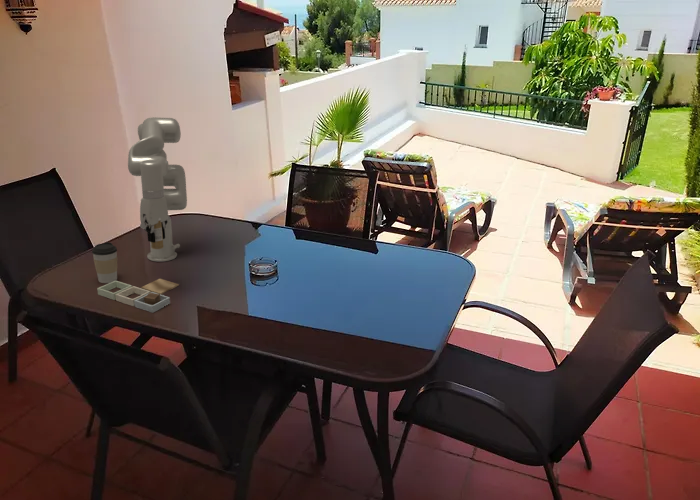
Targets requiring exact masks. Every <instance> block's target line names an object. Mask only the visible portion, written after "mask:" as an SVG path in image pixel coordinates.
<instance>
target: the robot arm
mask: <svg viewBox="0 0 700 500" xmlns="http://www.w3.org/2000/svg"><path fill="white" fill-rule="evenodd" d="M180 126H181V125H180V122H178V120H177V119H176V118H173V117H153V116H152V117H148V118H145V120H143V122H142V123H141V124H139V125H138V126H137V135H138V141H137V142H136V143H134V144H133V145H132V146H131V147H130V149H129V151H128V154H127V155H128V156H127V157H128V158H127V169H128V172H129V173H130V175H132V176H135V177H140V180H141V192H142V193H141V195H142V198H141V199H140V204H139V205H140V206H139V219H140V220H139V221H140V225H139V227H140V228H141V229H143V230H144V231H145V232H146V233H147V235H146V236H147V242H149V244H150V245H149V246H150V248H149V249H150V252H148V253H147V255H146V256H147V259H148V260H150V261H152V262H160V263H161V262H169V261H172V260H174V259H175V258H177V257H178V253H177V251H176V249H179V248H181V244H180V243H176V244H173V230H172V219H171V216H170V215H169V211H182V210H185V209H186V208H187V205H188V197H187V196H188V195H187V182H186V181H187V180H186V178H187V177H186V171H185V169H184V167H183V166H182V165H180V164H170V163H169V161H168V157H167V156H168V155H167V153H166V151H165V150H164V147H165V144H176V143H179V142H180V140H181V136H182V135H181V127H180ZM165 187H174V188H165ZM159 218H161V221H160V220H159V221H160V222H161V224H162V233H163V246H164V247H163V248H161V249H153V248H151V246H152V245H151V242H153V243H154V242H155V233H154V232H153V231H154V225H155V224H157V223H158V219H159Z"/></svg>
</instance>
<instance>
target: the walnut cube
mask: <svg viewBox="0 0 700 500" xmlns="http://www.w3.org/2000/svg"><path fill="white" fill-rule="evenodd" d="M158 302H160V294H154V293H149V294H148V295H147V296H145V297H144V303H146V304H149V305H154V304H156V303H158Z"/></svg>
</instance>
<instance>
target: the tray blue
mask: <svg viewBox="0 0 700 500" xmlns="http://www.w3.org/2000/svg"><path fill="white" fill-rule="evenodd" d="M151 293H154V292H151ZM154 294H157V293H154ZM147 295H148V294H147ZM147 295H145V296H147ZM145 296H143V297H141V298H139V299H137V300H135V306H134V307H135V308H137V309H140V310H144V311H147V312H149V313H153V314H154V313H155V312H157V311H159V310H162V309H163V308H165V307H167V306H168V304H169V305H170V304H171V298H170V296H166V295H164V294H161V295H160V302H158V303H156V304H154V305H149V304H146V303H144V297H145ZM166 305H167V306H166ZM164 306H165V307H164Z"/></svg>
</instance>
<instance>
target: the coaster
mask: <svg viewBox="0 0 700 500" xmlns="http://www.w3.org/2000/svg"><path fill="white" fill-rule="evenodd" d="M179 286H180V284H179V283H176V282H172V281H170V280H166V279H163V278H158V279H156V280H154V281H151V282H149V283H148V284H145V285H143V286H141V287H140V288H141V289H144V290H148V291H150V292H154V293H157V294H160V295H164V293H167V292H169V291H170V290H172V289H175V288H176V287H179Z"/></svg>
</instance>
